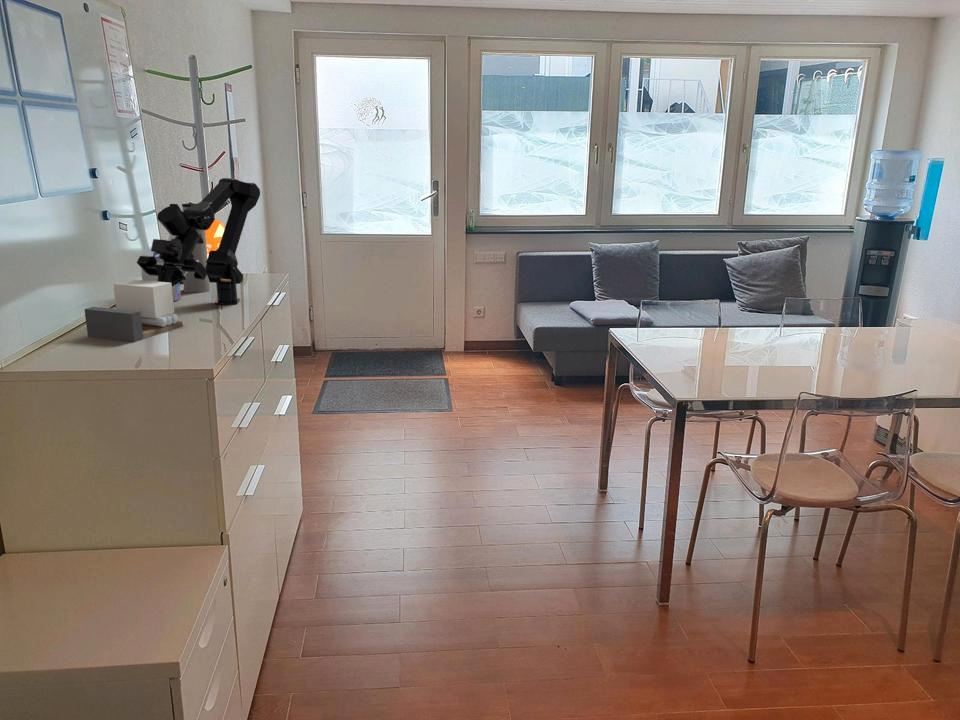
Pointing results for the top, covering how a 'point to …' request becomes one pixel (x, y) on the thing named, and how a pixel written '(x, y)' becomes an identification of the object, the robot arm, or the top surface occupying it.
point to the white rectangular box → (147, 301)
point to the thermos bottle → (201, 254)
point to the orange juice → (214, 236)
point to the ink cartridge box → (147, 277)
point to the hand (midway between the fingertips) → (159, 292)
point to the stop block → (114, 324)
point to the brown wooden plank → (159, 329)
